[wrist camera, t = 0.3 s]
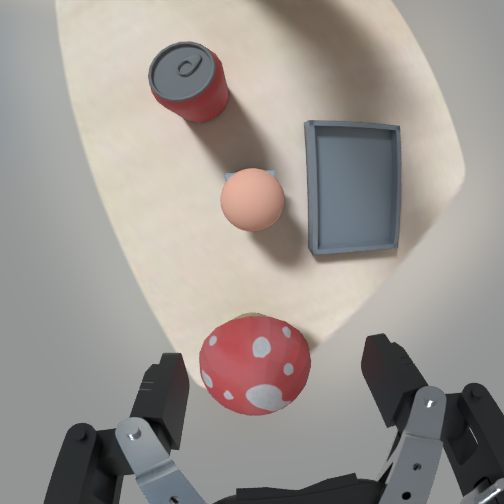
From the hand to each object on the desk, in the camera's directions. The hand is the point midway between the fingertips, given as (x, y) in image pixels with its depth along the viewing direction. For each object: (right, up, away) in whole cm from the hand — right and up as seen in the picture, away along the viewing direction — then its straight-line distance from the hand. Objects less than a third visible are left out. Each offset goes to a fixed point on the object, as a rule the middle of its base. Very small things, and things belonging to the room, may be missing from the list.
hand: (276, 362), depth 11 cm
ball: (-1, +11, +18) cm, 21 cm away
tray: (+12, +13, +22) cm, 29 cm away
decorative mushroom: (-1, -6, +29) cm, 29 cm away
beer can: (-7, +23, +18) cm, 30 cm away
